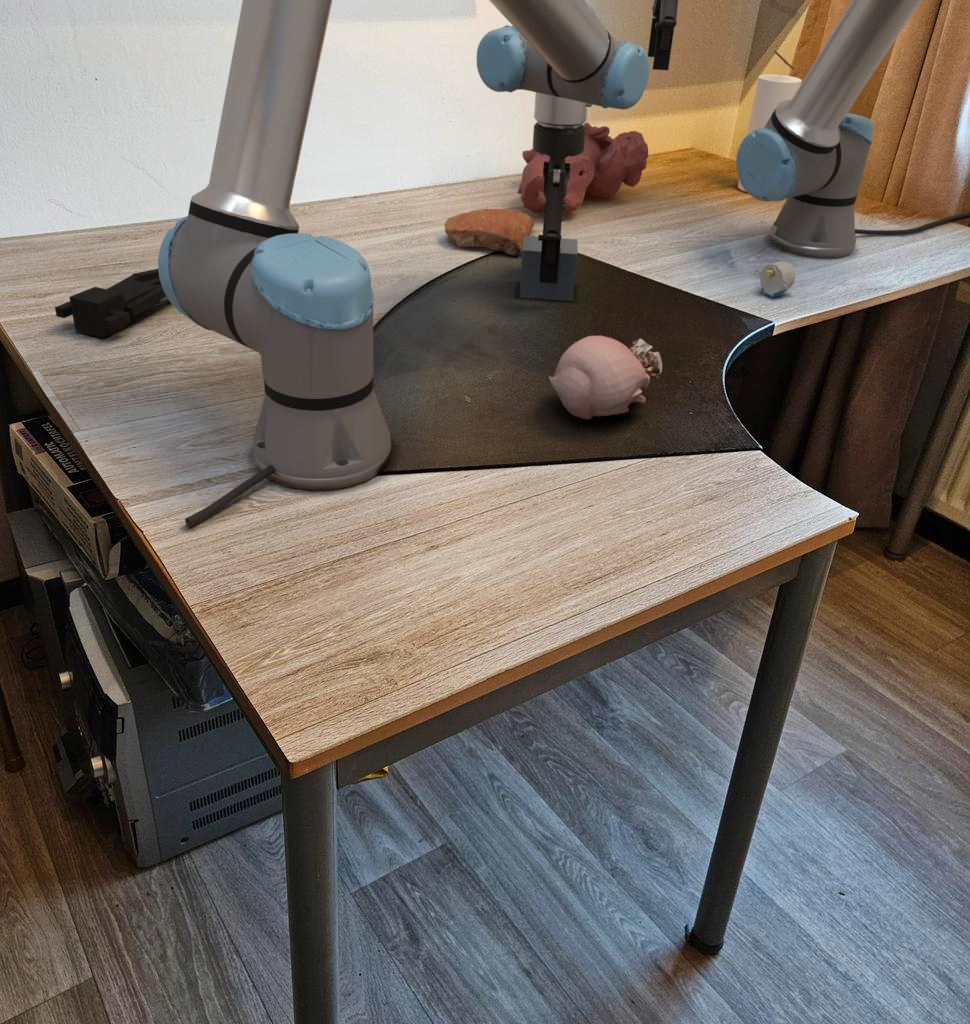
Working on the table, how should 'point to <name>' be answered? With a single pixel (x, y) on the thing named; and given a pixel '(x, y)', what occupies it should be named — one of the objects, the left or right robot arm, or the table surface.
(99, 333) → the toy
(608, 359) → the toy
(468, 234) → the ceramic shard
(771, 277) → the electric motor
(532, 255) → the grey cube
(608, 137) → the reddish clay animal figure
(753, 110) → the tall white tube
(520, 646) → the table surface
